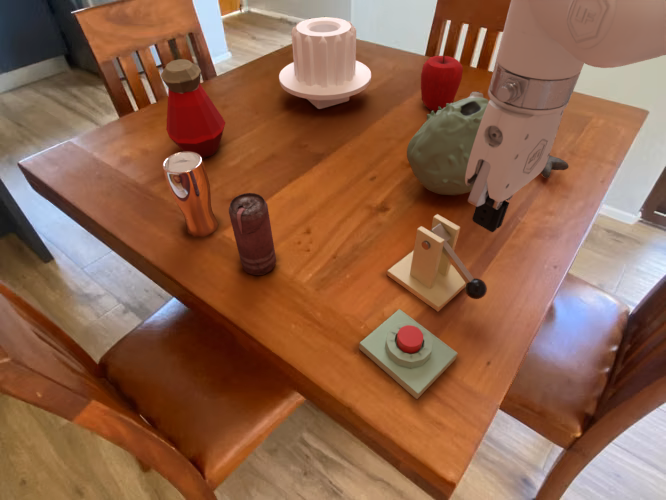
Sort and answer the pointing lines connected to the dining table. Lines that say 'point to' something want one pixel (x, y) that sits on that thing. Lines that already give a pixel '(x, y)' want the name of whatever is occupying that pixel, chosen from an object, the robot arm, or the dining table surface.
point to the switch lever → (461, 267)
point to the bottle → (191, 110)
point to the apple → (440, 81)
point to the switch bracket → (430, 267)
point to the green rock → (447, 145)
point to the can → (253, 233)
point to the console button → (409, 339)
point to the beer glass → (191, 191)
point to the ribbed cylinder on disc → (324, 63)
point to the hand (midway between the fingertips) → (486, 223)
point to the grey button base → (407, 354)
